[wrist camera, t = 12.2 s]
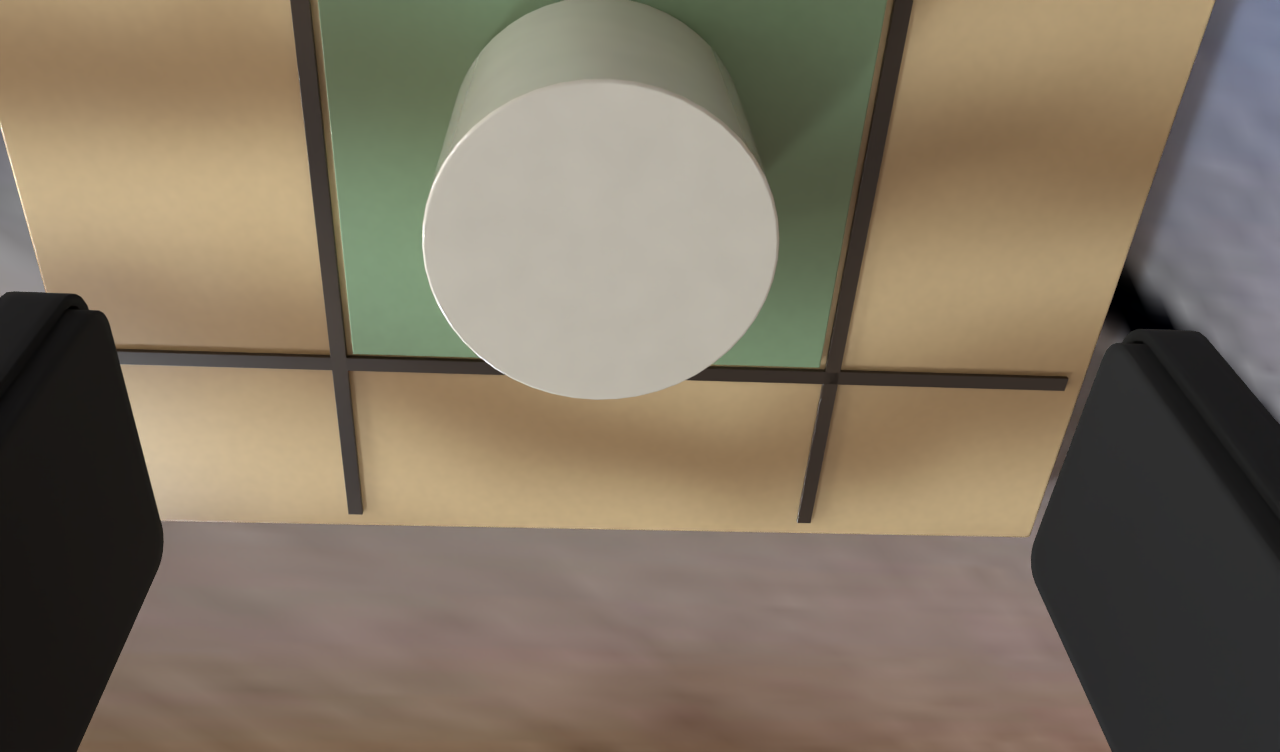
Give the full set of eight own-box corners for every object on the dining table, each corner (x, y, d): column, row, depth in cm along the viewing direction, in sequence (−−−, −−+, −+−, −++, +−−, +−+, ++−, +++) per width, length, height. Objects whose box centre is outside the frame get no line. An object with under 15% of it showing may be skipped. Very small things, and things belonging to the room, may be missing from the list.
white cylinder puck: (445, -13, 17) (411, 70, 14) (762, 4, 17) (804, 89, 14) (456, 270, 20) (429, 396, 16) (728, 280, 20) (756, 405, 17)
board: (-160, -605, 14) (-219, -626, 13) (1341, -476, 15) (1395, -485, 14) (124, 490, 24) (103, 527, 23) (1015, 508, 25) (1033, 544, 24)
